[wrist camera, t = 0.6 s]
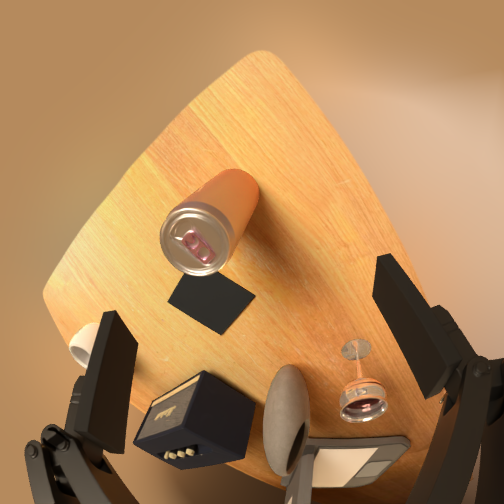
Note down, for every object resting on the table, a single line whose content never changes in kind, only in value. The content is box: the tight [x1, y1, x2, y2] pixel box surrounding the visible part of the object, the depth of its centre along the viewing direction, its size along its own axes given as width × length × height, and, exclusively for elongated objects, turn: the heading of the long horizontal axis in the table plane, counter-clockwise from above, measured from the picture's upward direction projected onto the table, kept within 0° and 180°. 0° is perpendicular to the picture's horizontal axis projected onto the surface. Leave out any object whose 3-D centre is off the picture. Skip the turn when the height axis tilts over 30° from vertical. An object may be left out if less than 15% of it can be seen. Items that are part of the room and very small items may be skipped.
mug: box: [69, 323, 100, 369], centre depth 49 cm, size 12×8×8 cm
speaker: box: [133, 370, 256, 470], centre depth 49 cm, size 22×13×15 cm, turn 138°
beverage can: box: [160, 169, 259, 276], centre depth 28 cm, size 6×6×15 cm
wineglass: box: [339, 339, 388, 423], centre depth 37 cm, size 7×7×12 cm
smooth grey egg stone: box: [263, 364, 310, 476], centre depth 39 cm, size 18×7×19 cm, turn 7°
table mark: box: [168, 272, 255, 335], centre depth 42 cm, size 10×10×1 cm
